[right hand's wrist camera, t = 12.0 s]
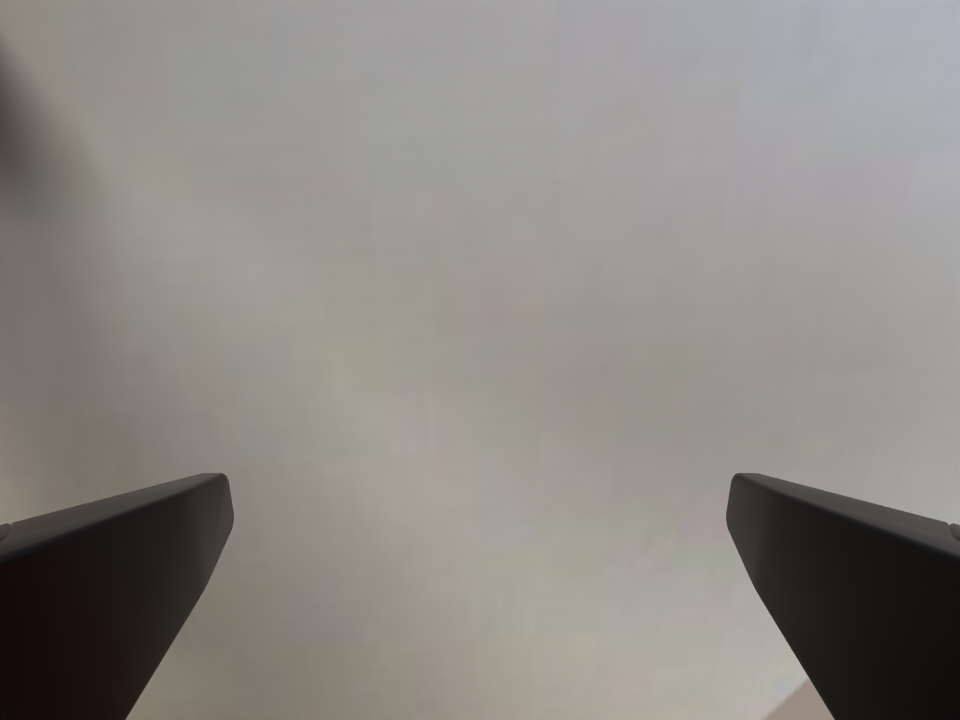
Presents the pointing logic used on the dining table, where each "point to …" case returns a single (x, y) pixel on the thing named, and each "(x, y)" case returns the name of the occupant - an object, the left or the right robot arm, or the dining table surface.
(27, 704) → the right robot arm
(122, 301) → the dining table surface
